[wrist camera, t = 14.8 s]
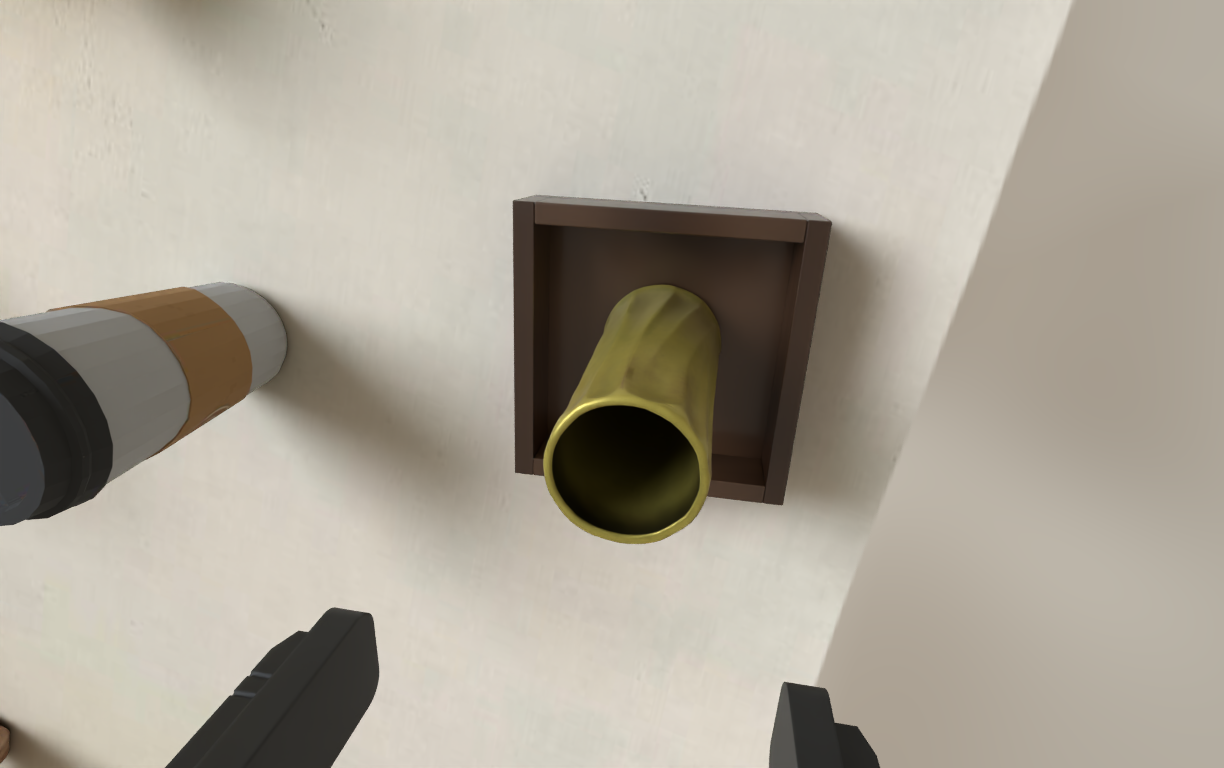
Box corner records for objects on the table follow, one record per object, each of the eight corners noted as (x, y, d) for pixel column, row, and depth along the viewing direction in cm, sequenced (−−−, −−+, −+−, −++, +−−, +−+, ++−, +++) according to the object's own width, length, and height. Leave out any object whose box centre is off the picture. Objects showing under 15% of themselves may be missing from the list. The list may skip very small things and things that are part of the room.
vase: (723, 394, 33) (728, 559, 19) (609, 397, 34) (541, 556, 20) (718, 279, 30) (721, 377, 17) (598, 287, 32) (514, 385, 18)
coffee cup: (221, 410, 39) (-51, 553, 25) (153, 285, 37) (-190, 367, 23) (330, 380, 37) (99, 517, 23) (265, 244, 34) (-37, 307, 21)
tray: (818, 213, 29) (832, 221, 26) (776, 470, 35) (782, 506, 31) (535, 194, 31) (512, 200, 28) (534, 441, 36) (514, 472, 33)
